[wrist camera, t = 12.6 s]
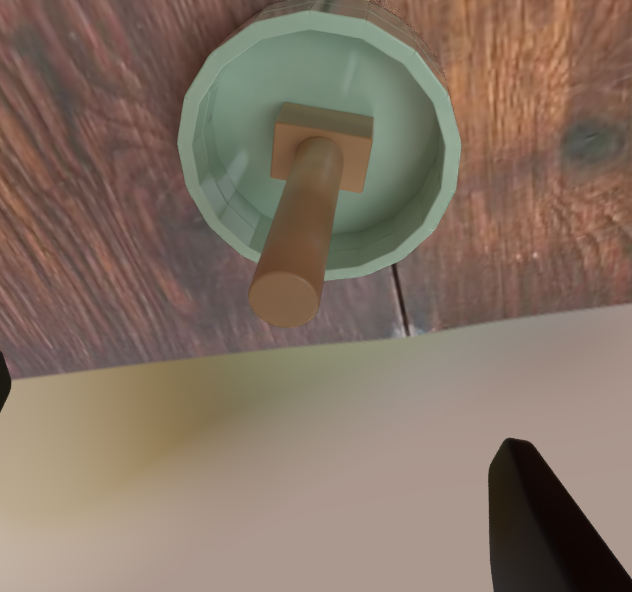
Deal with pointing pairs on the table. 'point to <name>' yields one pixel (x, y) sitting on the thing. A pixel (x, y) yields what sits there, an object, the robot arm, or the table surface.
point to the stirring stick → (307, 207)
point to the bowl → (328, 93)
